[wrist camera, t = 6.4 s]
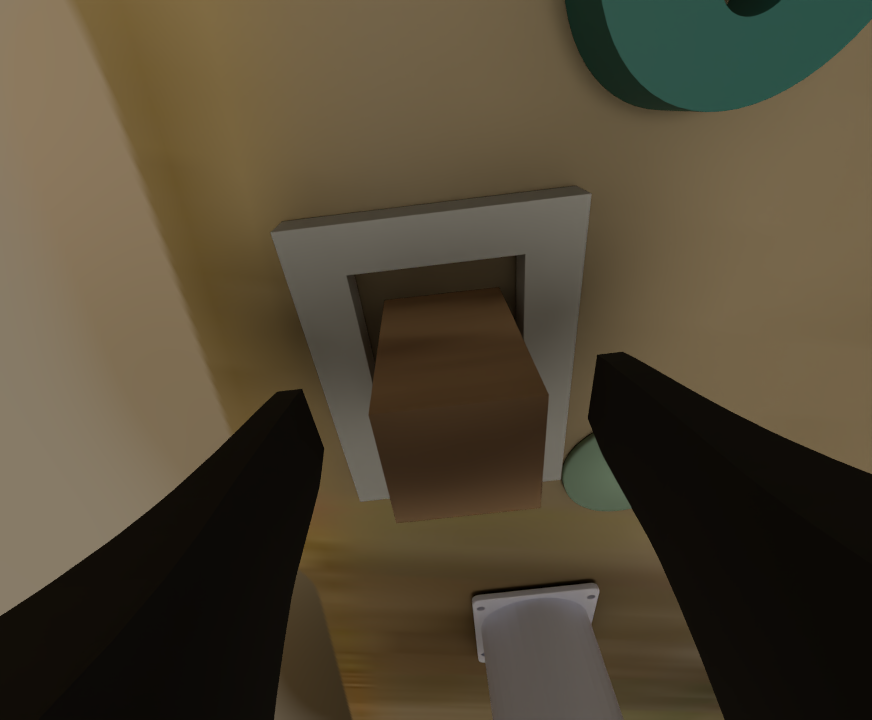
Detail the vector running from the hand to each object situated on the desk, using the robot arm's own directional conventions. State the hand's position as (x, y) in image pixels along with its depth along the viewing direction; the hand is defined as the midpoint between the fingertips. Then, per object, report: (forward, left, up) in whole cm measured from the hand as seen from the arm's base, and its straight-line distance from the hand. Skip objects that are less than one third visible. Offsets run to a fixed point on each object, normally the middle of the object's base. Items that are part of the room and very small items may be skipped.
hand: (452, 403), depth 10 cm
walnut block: (-1, 0, -5) cm, 5 cm away
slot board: (-2, 0, -5) cm, 6 cm away
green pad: (-9, -8, -5) cm, 13 cm away
